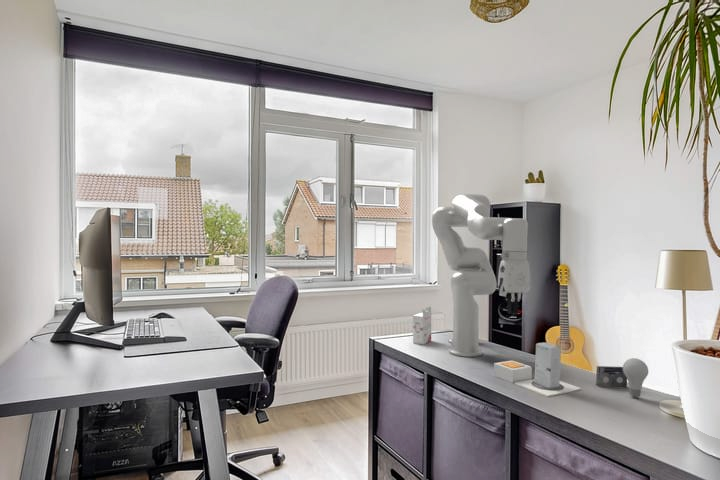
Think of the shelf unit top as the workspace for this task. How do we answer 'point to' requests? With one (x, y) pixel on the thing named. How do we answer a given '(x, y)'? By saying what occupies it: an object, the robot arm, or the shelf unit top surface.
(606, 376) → the mini dv tape
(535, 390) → the white plate with oval
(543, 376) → the skincare box
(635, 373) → the lightbulb
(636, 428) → the shelf unit top surface
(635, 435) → the shelf unit top surface
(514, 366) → the button
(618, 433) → the shelf unit top surface
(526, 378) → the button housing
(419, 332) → the ink cartridge box
